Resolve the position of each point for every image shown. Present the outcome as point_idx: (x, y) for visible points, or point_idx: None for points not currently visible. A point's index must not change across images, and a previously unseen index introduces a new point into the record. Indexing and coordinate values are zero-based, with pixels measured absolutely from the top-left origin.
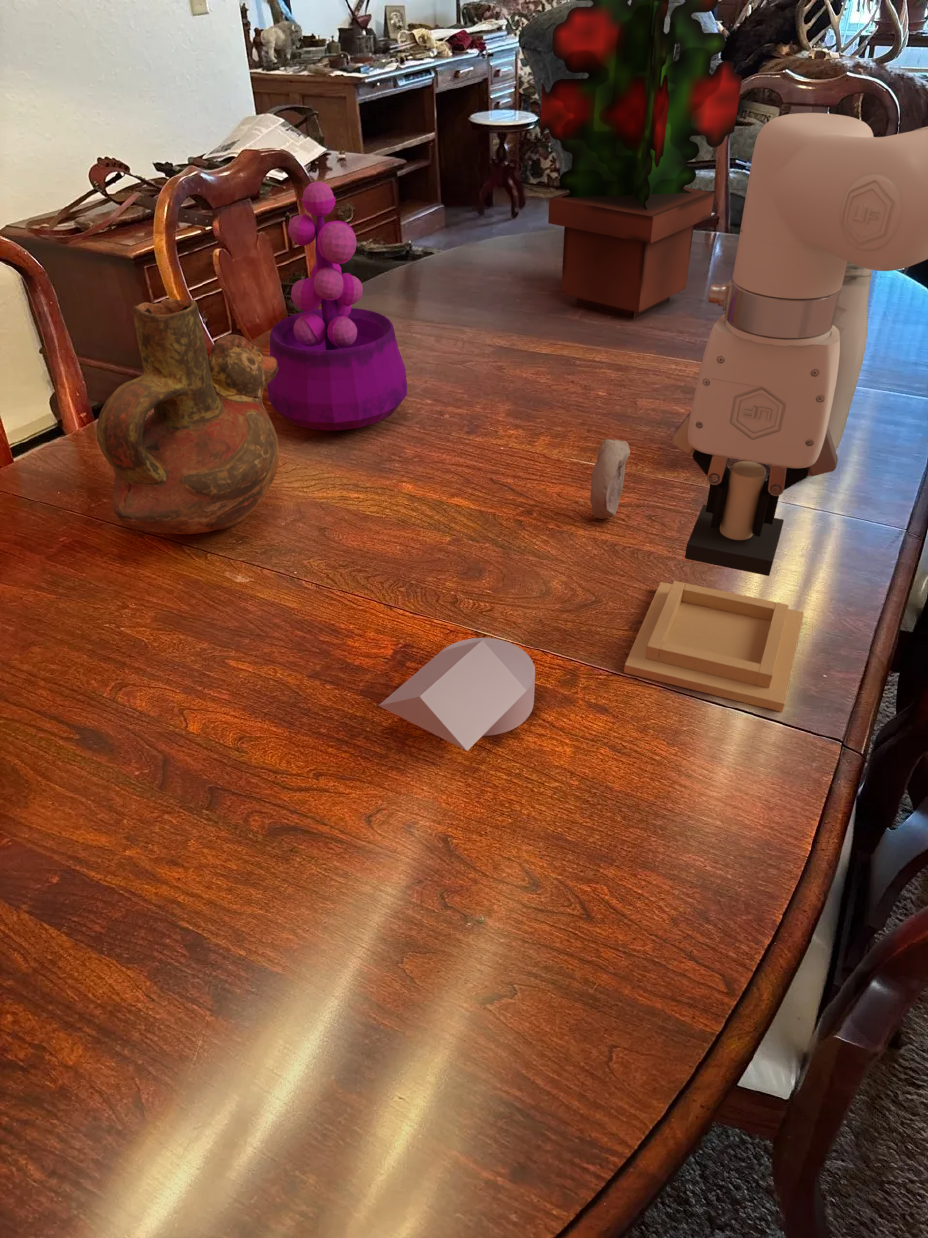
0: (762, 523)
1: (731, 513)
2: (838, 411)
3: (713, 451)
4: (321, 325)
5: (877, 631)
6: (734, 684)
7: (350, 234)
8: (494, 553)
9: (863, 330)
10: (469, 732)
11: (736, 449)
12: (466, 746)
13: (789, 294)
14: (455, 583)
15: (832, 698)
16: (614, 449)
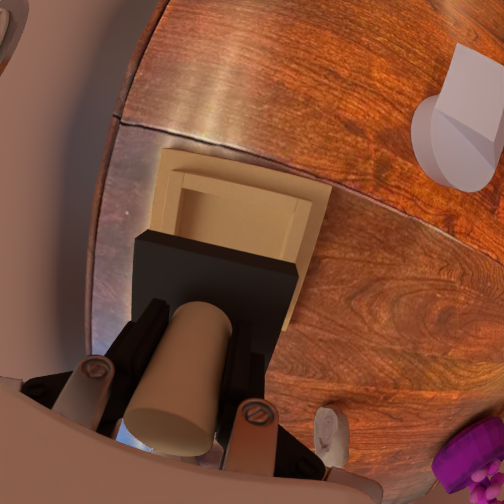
0: (143, 312)
1: (209, 340)
2: None
3: (287, 491)
4: (489, 471)
5: (91, 283)
6: (211, 168)
7: None
8: (424, 346)
9: None
10: (463, 55)
11: (187, 502)
12: (459, 45)
13: None
14: (458, 300)
15: (121, 180)
16: (334, 460)
